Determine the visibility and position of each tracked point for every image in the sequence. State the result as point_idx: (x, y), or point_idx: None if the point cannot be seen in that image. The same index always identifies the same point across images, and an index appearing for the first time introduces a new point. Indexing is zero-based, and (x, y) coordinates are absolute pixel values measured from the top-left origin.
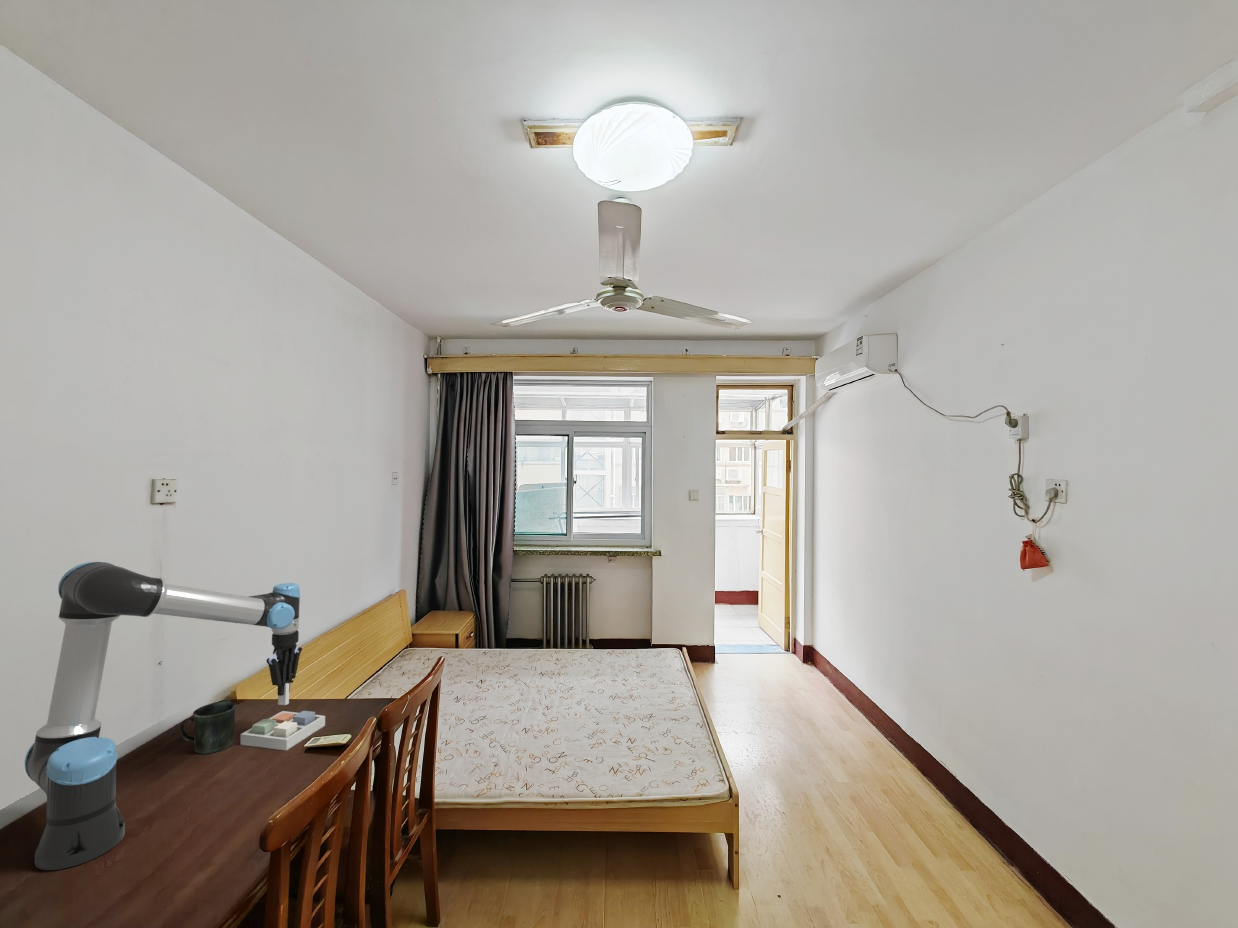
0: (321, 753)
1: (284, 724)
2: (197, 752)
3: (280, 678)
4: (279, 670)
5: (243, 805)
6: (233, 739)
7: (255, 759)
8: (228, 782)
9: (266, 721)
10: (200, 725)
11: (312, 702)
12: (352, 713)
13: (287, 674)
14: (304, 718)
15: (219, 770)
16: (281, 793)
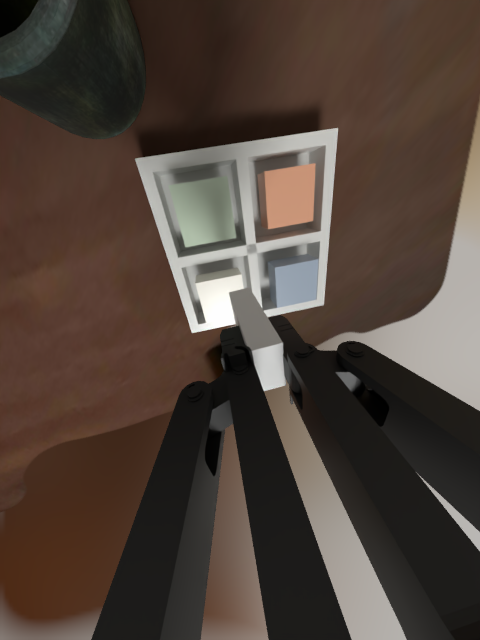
0: (217, 377)
1: (224, 293)
2: None
3: (215, 474)
4: (201, 613)
5: (43, 411)
6: (127, 122)
7: (129, 294)
8: (42, 333)
9: (214, 212)
10: None
11: (457, 109)
12: (373, 298)
13: (313, 432)
14: (276, 305)
15: (39, 264)
16: (104, 422)
